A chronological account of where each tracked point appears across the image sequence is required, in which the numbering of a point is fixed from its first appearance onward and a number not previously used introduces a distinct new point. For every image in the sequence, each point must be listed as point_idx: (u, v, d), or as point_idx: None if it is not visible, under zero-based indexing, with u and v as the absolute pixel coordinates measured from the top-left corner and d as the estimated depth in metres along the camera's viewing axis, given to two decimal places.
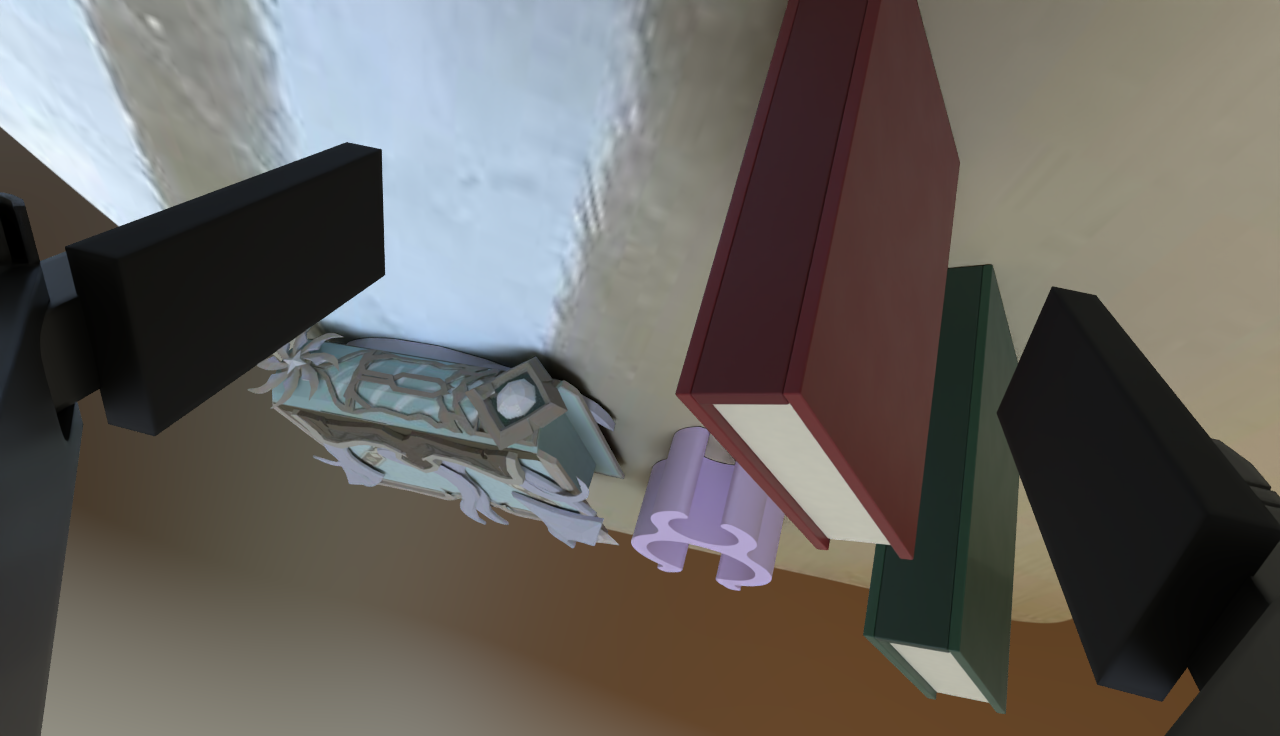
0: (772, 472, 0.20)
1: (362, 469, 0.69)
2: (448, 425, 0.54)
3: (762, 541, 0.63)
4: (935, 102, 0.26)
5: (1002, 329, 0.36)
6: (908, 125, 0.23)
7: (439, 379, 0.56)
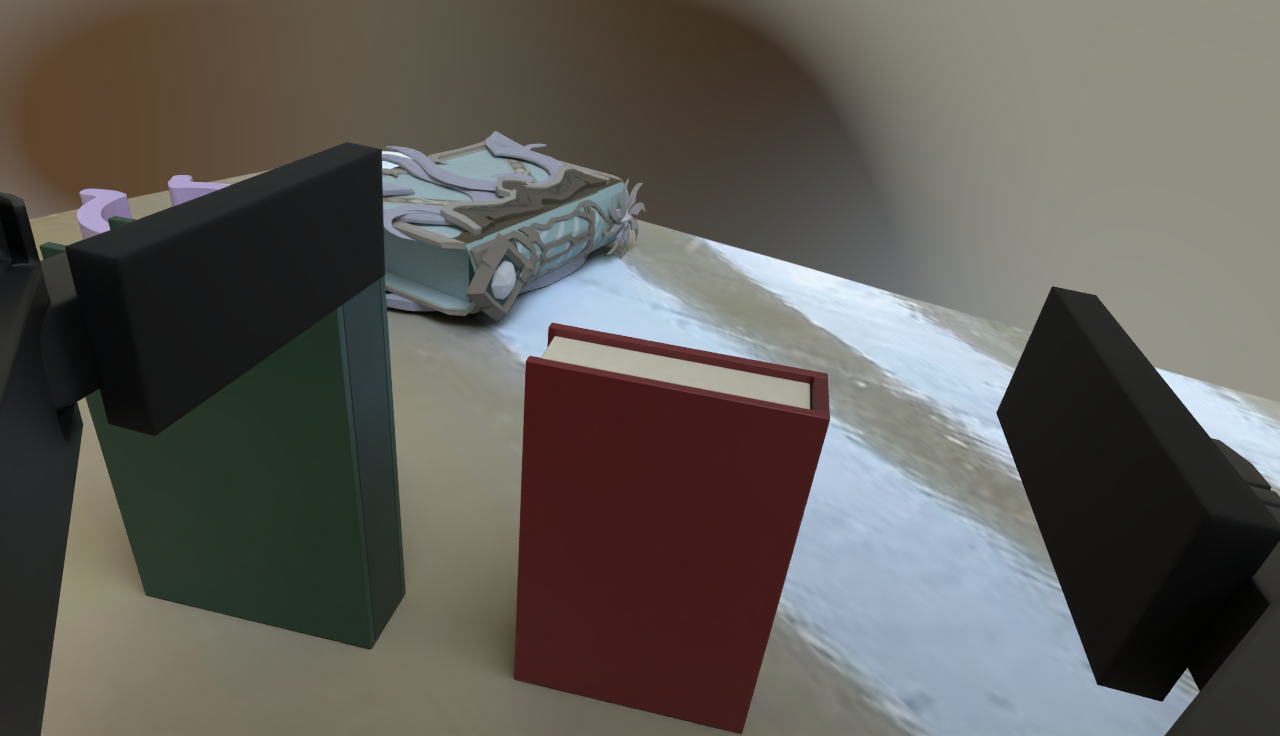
0: (690, 361, 0.27)
1: (514, 152, 0.77)
2: (529, 230, 0.62)
3: None
4: (606, 684, 0.32)
5: (294, 613, 0.34)
6: (668, 641, 0.30)
7: (547, 262, 0.64)
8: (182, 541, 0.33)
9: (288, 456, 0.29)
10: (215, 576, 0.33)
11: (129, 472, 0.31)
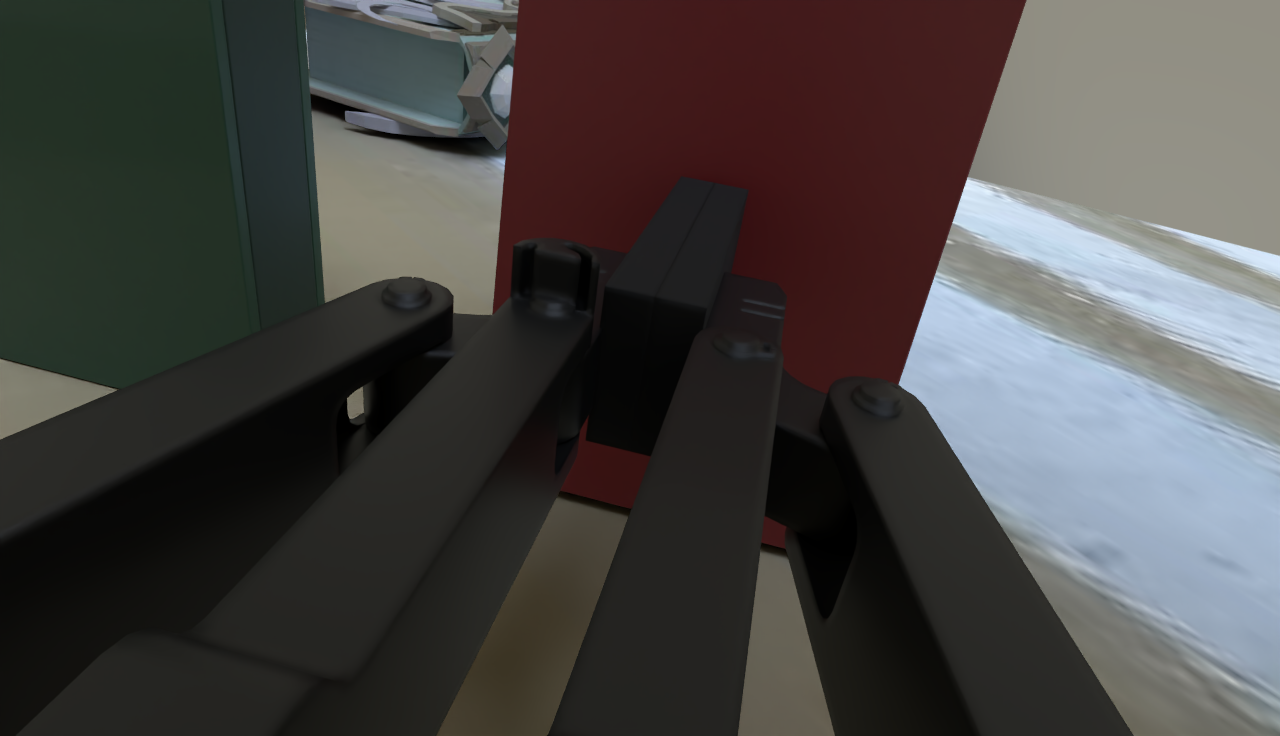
0: None
1: None
2: None
3: None
4: (624, 473, 0.20)
5: (148, 363, 0.22)
6: None
7: None
8: None
9: (113, 38, 0.17)
10: (29, 299, 0.22)
11: None
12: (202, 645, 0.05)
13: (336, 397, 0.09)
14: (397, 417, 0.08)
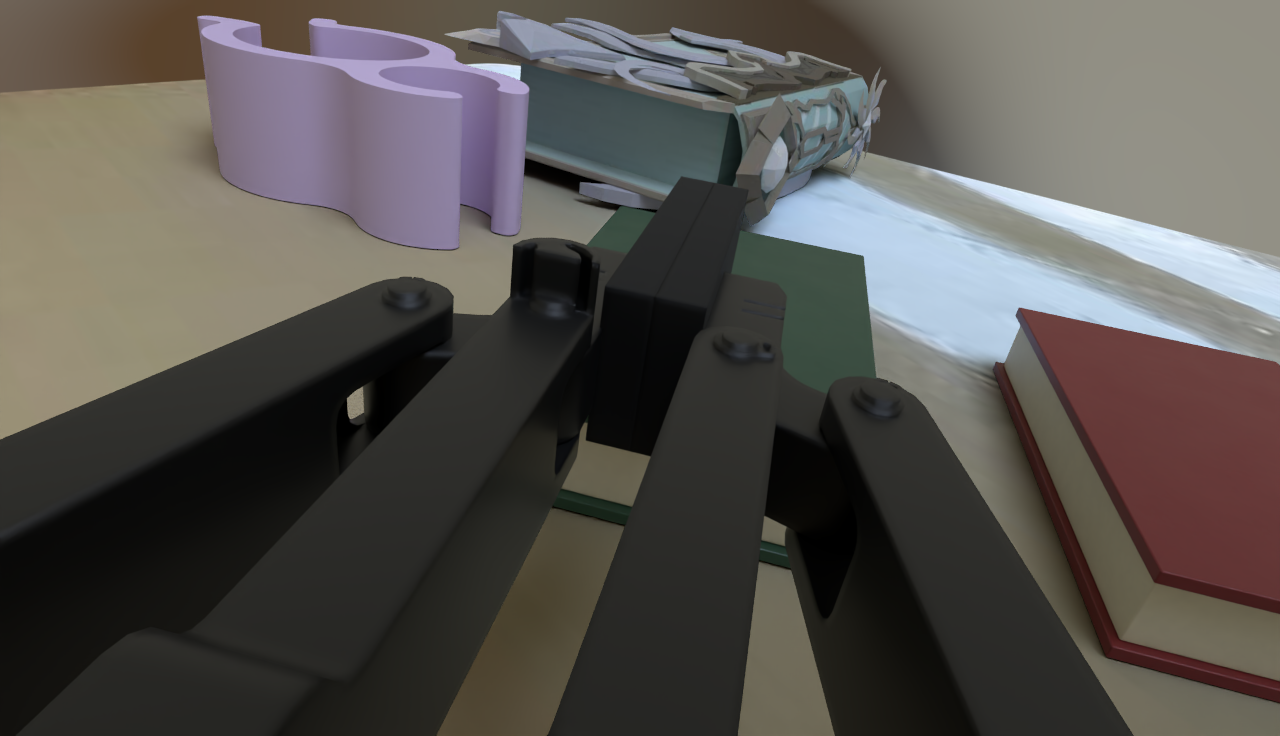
0: None
1: (716, 41, 0.61)
2: (792, 107, 0.45)
3: (292, 101, 0.36)
4: None
5: None
6: None
7: (801, 157, 0.48)
8: None
9: (798, 304, 0.28)
10: None
11: None
12: (203, 645, 0.05)
13: (335, 397, 0.09)
14: (397, 417, 0.08)
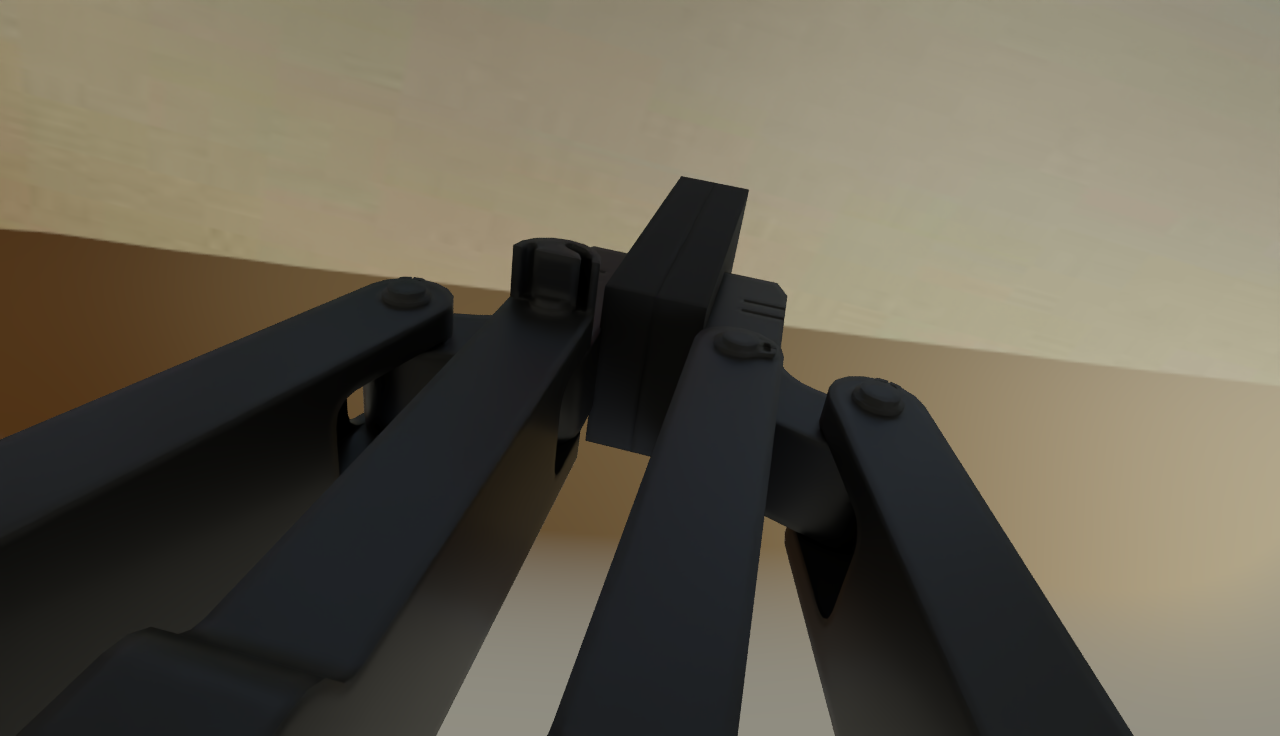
0: None
1: None
2: None
3: None
4: None
5: None
6: None
7: None
8: None
9: None
10: None
11: None
12: (202, 645, 0.05)
13: (336, 397, 0.09)
14: (397, 417, 0.08)
